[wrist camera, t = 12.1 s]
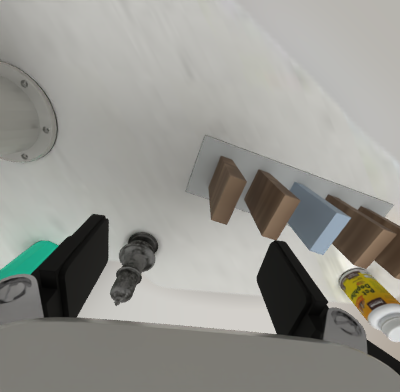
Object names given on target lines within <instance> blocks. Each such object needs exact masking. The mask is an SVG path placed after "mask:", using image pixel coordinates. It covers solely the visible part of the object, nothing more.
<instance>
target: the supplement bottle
mask: <svg viewBox="0 0 400 392" xmlns="http://www.w3.org/2000/svg"><path fill="white" fill-rule="evenodd" d="M340 286H341V288H342V290H343V291H344V292H345V293H346V295H347V296H348V297H349V298H350V300H351V301H352V302H353V303H354V305H355V306H356V307H357V308H358V310H359V311H360V312H361V313H362V315H363V316H364V317H365V318H366V320H367V321H368V322H369V324H370V325H371V326H372V327H374V328H376V329H378V330H382V332H383V333H384V334H385V335H386V336H387V337H388V339H389V340H391V341H394V342H400V303H399V302H398V301H397V300H396V299H395V298H394V297H393V296H392V295H391V294H390V293H389V292H388V291H387V290H386V289H385V288H384V287H383V286H382V285H380V284H379V283H378V282H377V281H376V280H375V279H374V278H373V277H372V276H371V275H370V274H369V273H368V272H366V271H365V270H361V269H354V270H350V271H348V272H346V273H345V274H344V275H343V276H342V277H341V279H340Z"/></svg>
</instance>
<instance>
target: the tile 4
mask: <svg viewBox="0 0 400 392" xmlns="http://www.w3.org/2000/svg"><path fill="white" fill-rule="evenodd" d="M325 200H326V201H328V202H329V203H331V204H332V205H333V206H335V207H336V208H338V209H339V210H341V211H342V212H343V213H345V214H346V215H348V216H349V217H351V219H350V220H349V222H348V223H347V224H346V226H345V227H344V228H343V229H342V231H341V232H340V233H339V235H338V236H337V237H336V239H335V240H334V241H333V243H332V244H333V245H334V246H335V247H336V248H337V249H338V250H339V251H340V252H341V253H342V254H343V255H344V256H345V257H346V258H347V259H348V260H349V261H350V262H351V263H352V264H353V265H356V266H359V267H362V268H365V269H367V267H368V266H369V265H370V264H371V263H372V262H373V261H374V260H375V259H376V257H377V256H378V255H379V254H380V253H381V252H382V251H383V250H384V248H385V247H386V246H387V245H388V244H389V243H390V242H391V241H392V240H393V238H394V237H395V236H396V235H397V234H396V233H394V232H393V231H391V230H389V229H388V228H386V227H384V226H383V225H381V224H380V223H378V222H376V221H375V220H373V219H372V218H370V217H368V216H367V215H365V214H363V213H362V212H360V211H359V210H357V209H355V208H354V207H352V206H350V205H349V204H347V203H346V202H344V201H342V200H341V199H339V198H337V197H334V196H331V195H329V194H328V195H327V197H326V198H325Z"/></svg>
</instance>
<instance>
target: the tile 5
mask: <svg viewBox="0 0 400 392" xmlns="http://www.w3.org/2000/svg"><path fill="white" fill-rule="evenodd" d="M358 210H359V211H360V212H362V213H363V214H365V215H367V216H368V217H370V218H372V219H373V220H375V221H376V222H378V223H380V224H381V225H383V226H384V227H386V228H388V229H389V230H391V231H393V232H394V233H396V234H397V235H396V236H395V237H394V238H393V240H392V241H391V242H390V243H389V244H388V245H387V246H386V247H385V248H384V250H383V251H382V252H381V253H380V254H379V255H378V256H377V257H376V259H375V261H376V262H377V263H378V264H379V265H380V266H382V267H383V268H384V269H385V270H386V271H387V272H389V273H390V274H391V275H392V276H393V277H395V278H397V279H400V226H398V225H397V224H395V223H393V222H391V221H390V220H388V219H386V218H384V217H382V216H381V215H379V214H377V213H375V212H374V211H372V210H370V209H367V208H365V207H362V206H360V207H359V209H358Z"/></svg>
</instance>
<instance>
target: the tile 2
mask: <svg viewBox="0 0 400 392" xmlns="http://www.w3.org/2000/svg"><path fill="white" fill-rule="evenodd" d="M244 201H245V203H246V205H247V207H248V209H249V211H250V213H251V215H252V217H253V219H254V221H255V223H256V225H257V227H258V229H259V231H260V233H261V235H262V236H264V237H267V238H270V239H273V240H277V239H278V237H279V235H280V234H281V232H282V231H283V229H284V227H285V226H286V224H287V222H288V221H289V219H290V217H291V216H292V214H293V213H294V211H295V209H296V208H297V206H298V204H299V203H300V201H301V200H300V199H298V198H297V197H296V196H295V195H294V194H293V193H292V192H290V191H289V190H288V189H287V188H286V187H285V186H284V185H282V184H281V183H280V182H279V181H278V180H277V179H276V178H274V177H273V176H272V175H271V174H270V173H268V172H265V171H262V170H260V169H258V171H257V173H256V175H255V177H254V179H253V182H252V184H251V186H250V188H249V190H248V192H247V194H246V196H245V198H244Z"/></svg>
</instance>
